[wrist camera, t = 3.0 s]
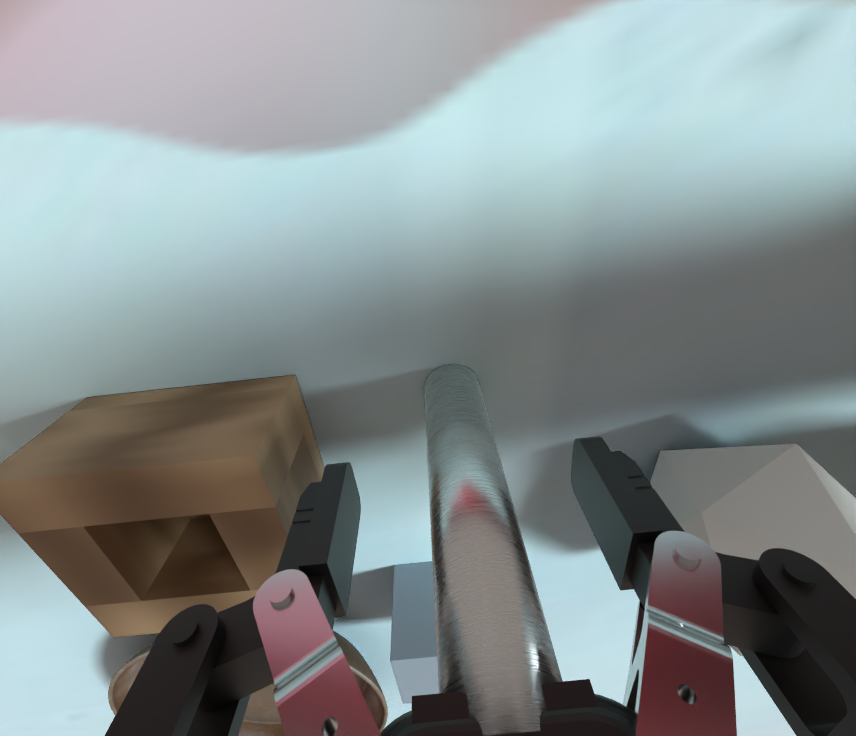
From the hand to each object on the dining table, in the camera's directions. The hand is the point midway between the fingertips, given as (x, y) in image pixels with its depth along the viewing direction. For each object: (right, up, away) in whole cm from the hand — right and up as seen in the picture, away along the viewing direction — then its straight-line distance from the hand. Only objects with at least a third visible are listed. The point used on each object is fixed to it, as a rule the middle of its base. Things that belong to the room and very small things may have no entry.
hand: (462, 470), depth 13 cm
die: (+13, -2, +8) cm, 15 cm away
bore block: (-11, -1, +6) cm, 12 cm away
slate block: (-1, -10, +11) cm, 15 cm away
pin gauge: (0, +2, +4) cm, 5 cm away
